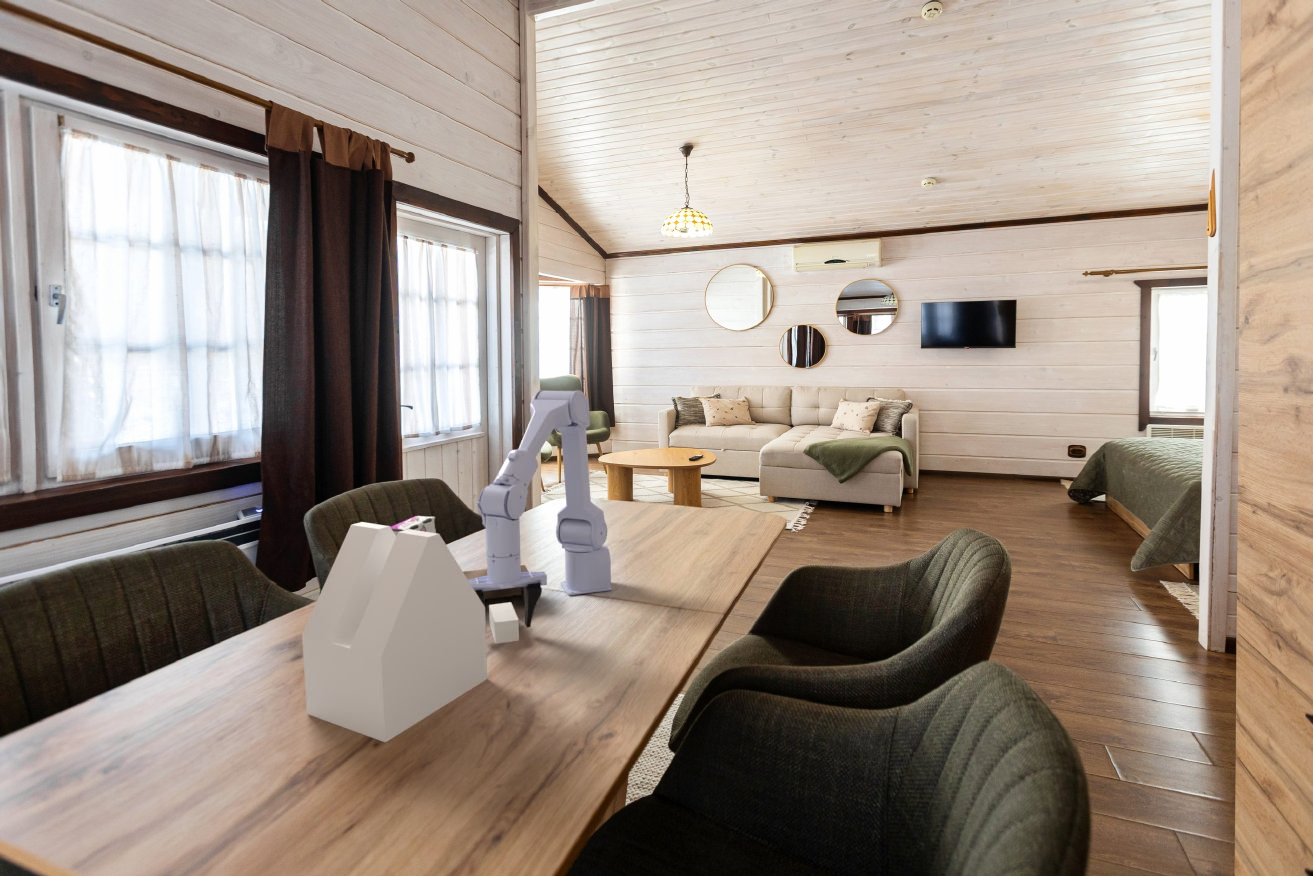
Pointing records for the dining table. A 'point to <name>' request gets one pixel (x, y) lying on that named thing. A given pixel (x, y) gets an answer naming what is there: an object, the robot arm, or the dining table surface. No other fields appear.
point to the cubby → (497, 592)
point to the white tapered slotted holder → (392, 633)
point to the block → (504, 622)
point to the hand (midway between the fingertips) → (505, 628)
